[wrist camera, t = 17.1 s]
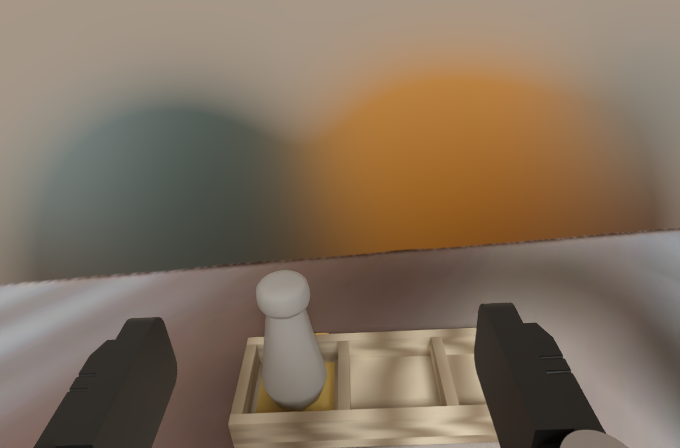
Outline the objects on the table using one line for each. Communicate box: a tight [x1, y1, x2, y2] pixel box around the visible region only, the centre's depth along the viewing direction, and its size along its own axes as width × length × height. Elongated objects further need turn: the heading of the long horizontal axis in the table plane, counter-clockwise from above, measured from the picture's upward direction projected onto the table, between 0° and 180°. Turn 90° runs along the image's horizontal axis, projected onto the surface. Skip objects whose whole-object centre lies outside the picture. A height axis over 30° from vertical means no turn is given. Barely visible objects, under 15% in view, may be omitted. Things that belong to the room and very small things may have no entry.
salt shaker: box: [256, 270, 327, 412], centre depth 41 cm, size 6×6×13 cm
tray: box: [228, 328, 499, 448], centre depth 44 cm, size 28×10×4 cm, turn 90°
